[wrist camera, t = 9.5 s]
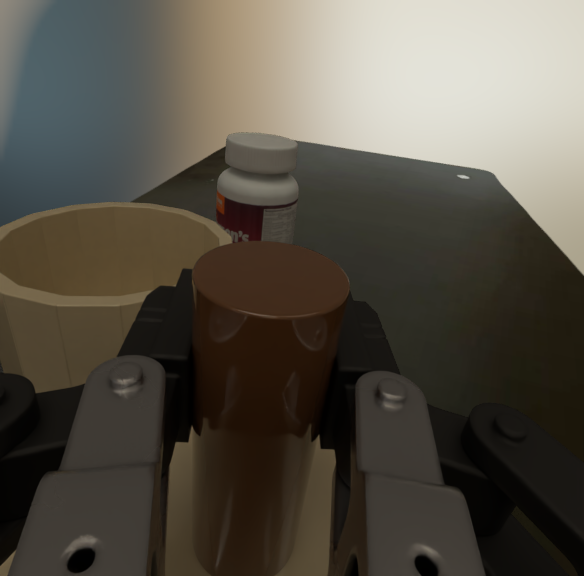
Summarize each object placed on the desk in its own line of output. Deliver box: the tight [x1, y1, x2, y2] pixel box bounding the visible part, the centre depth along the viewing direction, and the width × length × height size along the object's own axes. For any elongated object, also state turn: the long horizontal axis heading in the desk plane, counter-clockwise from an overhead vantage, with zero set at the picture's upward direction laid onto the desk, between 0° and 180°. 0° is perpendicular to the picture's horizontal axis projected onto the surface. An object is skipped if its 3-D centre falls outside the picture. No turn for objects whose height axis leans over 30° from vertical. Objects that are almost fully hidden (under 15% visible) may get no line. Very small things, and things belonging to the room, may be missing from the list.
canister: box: [0, 202, 233, 393], centre depth 22 cm, size 11×11×8 cm
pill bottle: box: [216, 133, 298, 244], centre depth 33 cm, size 6×6×11 cm
